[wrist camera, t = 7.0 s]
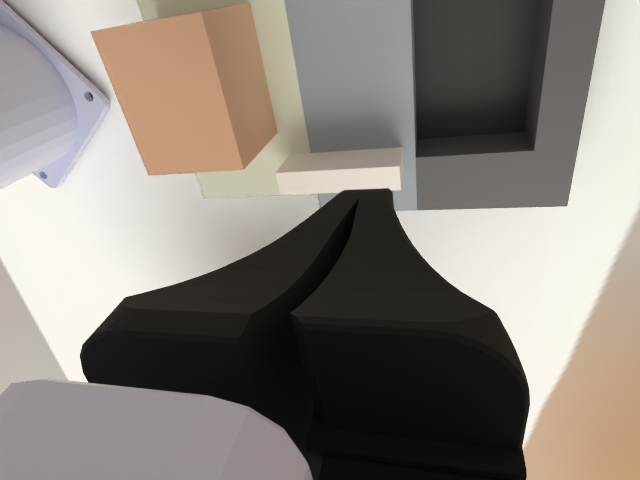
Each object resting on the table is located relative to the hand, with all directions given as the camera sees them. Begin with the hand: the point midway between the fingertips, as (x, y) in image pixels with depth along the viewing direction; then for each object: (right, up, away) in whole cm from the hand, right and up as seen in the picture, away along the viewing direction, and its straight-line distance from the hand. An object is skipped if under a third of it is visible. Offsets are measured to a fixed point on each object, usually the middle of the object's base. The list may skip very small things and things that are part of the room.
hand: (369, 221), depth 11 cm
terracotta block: (-6, +6, +6) cm, 10 cm away
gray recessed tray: (+3, +8, +6) cm, 10 cm away
